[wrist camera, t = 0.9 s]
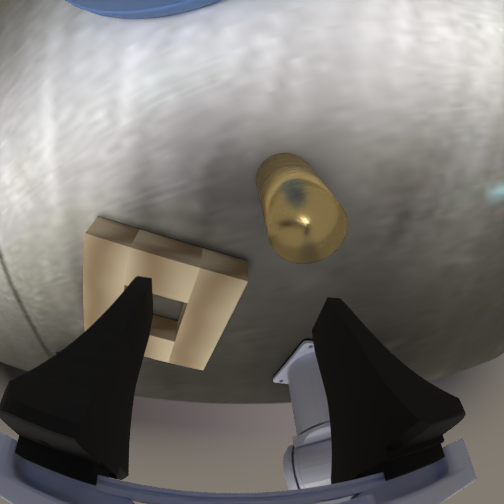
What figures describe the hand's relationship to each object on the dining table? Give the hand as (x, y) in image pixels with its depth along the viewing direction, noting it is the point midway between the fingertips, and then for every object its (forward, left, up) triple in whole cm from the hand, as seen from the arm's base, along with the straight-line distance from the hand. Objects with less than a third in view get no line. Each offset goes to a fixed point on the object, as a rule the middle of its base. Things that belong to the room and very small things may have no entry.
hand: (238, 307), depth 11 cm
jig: (+4, +10, -10) cm, 15 cm away
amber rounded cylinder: (-2, -3, -10) cm, 11 cm away
